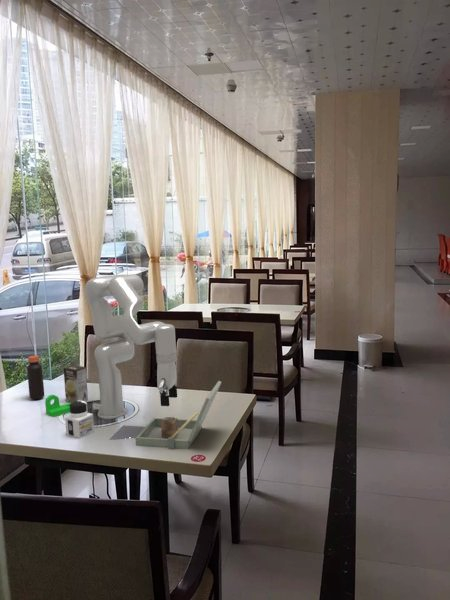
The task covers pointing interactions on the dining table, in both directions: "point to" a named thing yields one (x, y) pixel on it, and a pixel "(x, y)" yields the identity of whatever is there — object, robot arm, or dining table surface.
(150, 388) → the dining table surface
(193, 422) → the case
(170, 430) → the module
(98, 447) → the dining table surface
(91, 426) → the container
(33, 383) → the bottle
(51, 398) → the mechanical part
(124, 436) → the mat
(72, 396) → the coffee box
